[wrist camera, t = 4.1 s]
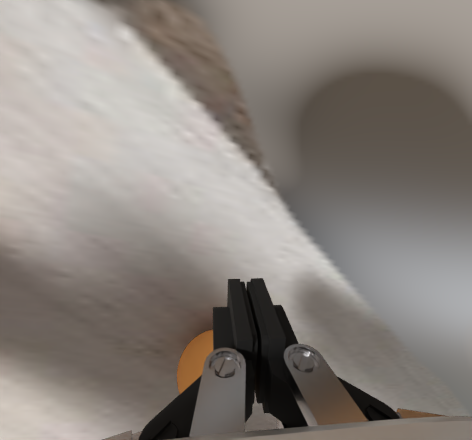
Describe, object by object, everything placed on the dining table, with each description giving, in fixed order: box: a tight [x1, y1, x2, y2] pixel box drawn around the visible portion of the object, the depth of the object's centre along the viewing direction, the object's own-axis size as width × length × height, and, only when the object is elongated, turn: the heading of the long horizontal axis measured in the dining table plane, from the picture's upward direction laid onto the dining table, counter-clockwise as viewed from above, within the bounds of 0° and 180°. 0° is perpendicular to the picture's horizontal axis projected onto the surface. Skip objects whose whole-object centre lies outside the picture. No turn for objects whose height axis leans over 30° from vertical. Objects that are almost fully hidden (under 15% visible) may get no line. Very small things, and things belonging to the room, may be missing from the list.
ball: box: [177, 330, 213, 394], centre depth 19 cm, size 6×6×6 cm
